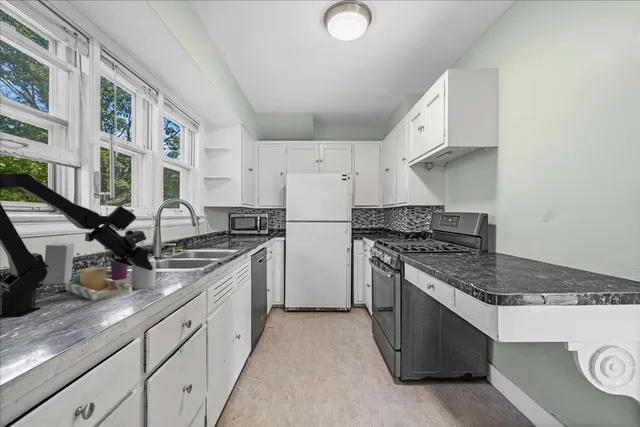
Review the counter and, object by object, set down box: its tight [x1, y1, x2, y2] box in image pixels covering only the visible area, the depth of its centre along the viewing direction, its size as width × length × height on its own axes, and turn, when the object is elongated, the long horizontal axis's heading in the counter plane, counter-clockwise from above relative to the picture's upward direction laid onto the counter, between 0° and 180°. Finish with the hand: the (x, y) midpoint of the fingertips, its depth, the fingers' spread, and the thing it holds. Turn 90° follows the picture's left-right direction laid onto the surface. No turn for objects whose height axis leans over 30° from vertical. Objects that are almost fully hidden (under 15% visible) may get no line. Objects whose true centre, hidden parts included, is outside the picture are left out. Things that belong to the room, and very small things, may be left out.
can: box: [131, 255, 157, 290], centre depth 106 cm, size 8×8×12 cm
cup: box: [110, 259, 129, 281], centre depth 118 cm, size 7×7×15 cm
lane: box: [65, 277, 133, 301], centre depth 98 cm, size 22×11×3 cm, turn 58°
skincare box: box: [42, 241, 75, 287], centre depth 111 cm, size 8×7×16 cm
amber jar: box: [80, 267, 107, 291], centre depth 101 cm, size 7×7×7 cm
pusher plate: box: [72, 274, 80, 285], centre depth 103 cm, size 1×8×5 cm, turn 148°
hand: (145, 268), depth 106 cm, fingers open, 9 cm apart
